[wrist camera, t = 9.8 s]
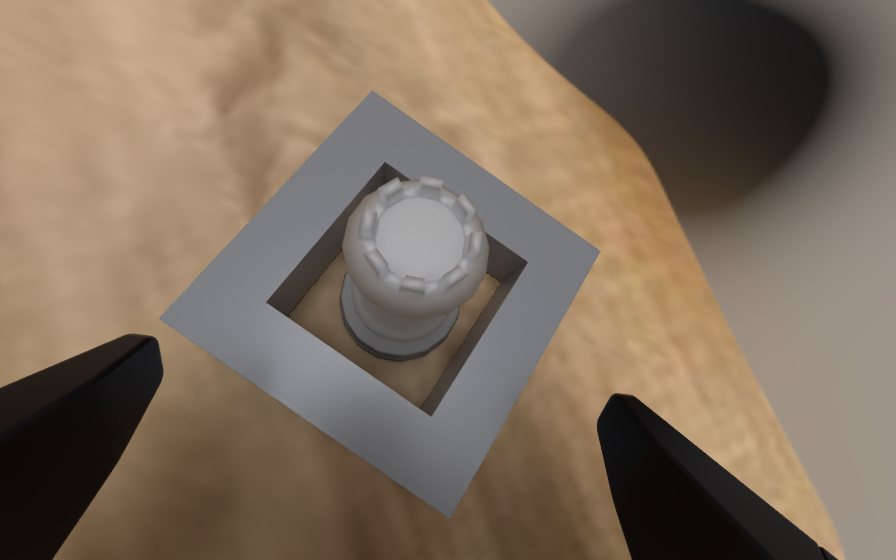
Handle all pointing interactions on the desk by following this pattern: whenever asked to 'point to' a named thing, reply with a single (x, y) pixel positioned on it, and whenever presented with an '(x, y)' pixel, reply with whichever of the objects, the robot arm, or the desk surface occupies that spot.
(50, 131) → the desk surface
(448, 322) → the rook chess piece
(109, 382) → the robot arm
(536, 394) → the desk surface
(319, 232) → the hollow square block
